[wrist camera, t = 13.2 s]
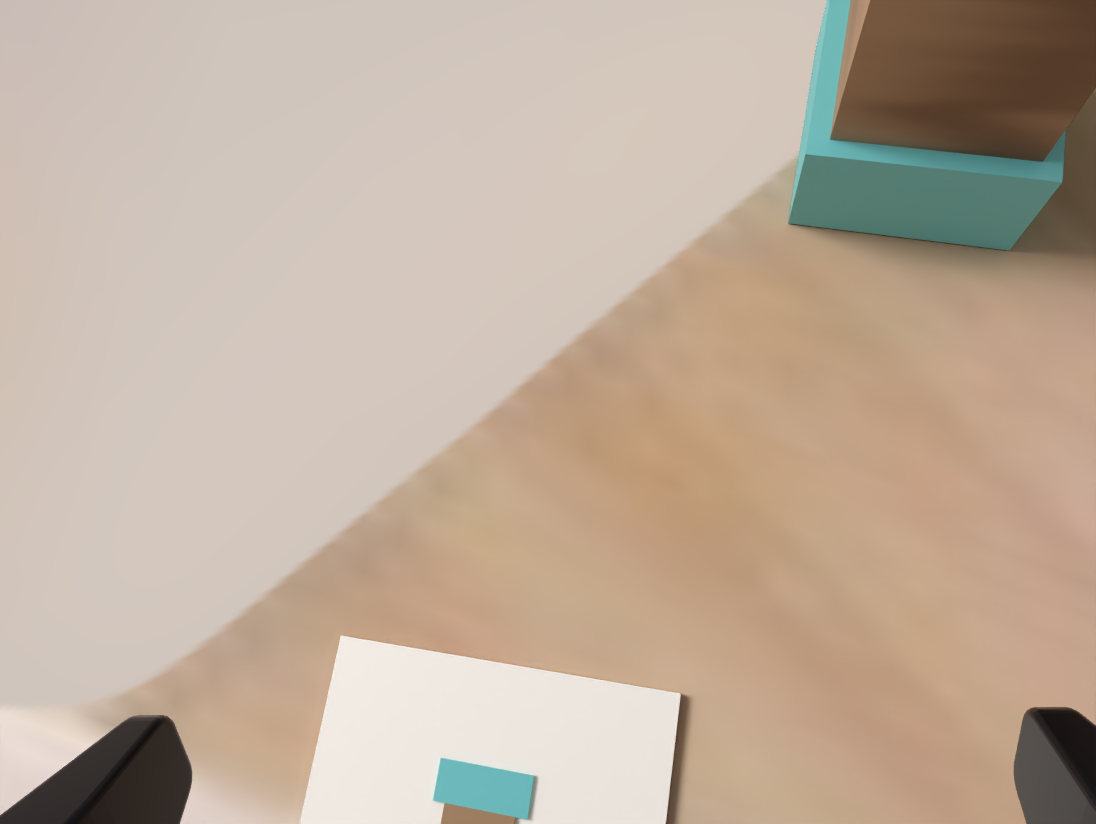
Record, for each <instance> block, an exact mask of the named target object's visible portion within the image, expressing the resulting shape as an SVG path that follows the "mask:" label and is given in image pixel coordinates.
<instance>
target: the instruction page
mask: <svg viewBox="0 0 1096 824" xmlns="http://www.w3.org/2000/svg"><path fill="white" fill-rule="evenodd" d="M680 696H681V693H675V692H669V691H663V690H657V689H651V688H645V687H640V686H634V685H628V684H622V683H616V682H610V681H604V680H598V679H593V678H587V677H581V676H575V675H569V674H563V673H557V672H552V671H546V670H540V669H534V668H528V667H522V666H516V665H510V664H505V663H499V662H493V661H487V660H481V659H475V658H469V657H464V656H458V655H452V654H446V653H440V652H434V651H428V650H423V649H417V648H411V647H405V646H399V645H393V644H387V643H381V642H376V641H370V640H364V639H358V638H352V637H346V636H341V638H340V643H339V647H338V652H337V656H336V661H335V665H334V670H333V674H332V679H331V683H330V688H329V692H328V697H327V701H326V706H325V711H324V715H323V720H322V724H321V729H320V733H319V738H318V742H317V747H316V751H315V756H314V760H313V765H312V769H311V774H310V778H309V783H308V787H307V792H306V797H305V801H304V806H303V810H302V815H301V819H300V824H666V817H667V808H668V800H669V791H670V782H671V774H672V765H673V756H674V748H675V739H676V730H677V722H678V713H679V705H680Z"/></svg>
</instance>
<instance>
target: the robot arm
mask: <svg viewBox="0 0 1096 824" xmlns="http://www.w3.org/2000/svg"><path fill="white" fill-rule="evenodd" d="M1014 781H1015V786H1016V790H1017V794H1018V797H1019V800H1020V804H1021V807H1022V810H1023V813H1024V817H1025V820H1026V823H1027V824H1096V725H1095V724H1093V723H1092V722H1091V721H1090V720H1088V719H1087V718H1086V717H1084V716H1083V715H1082V714H1081V713H1079V712H1078V711H1076V710H1074V709H1072V708H1068V707H1034V708H1030V709H1029V710H1027V711H1026V713H1025V714H1024V717H1023V721H1022V726H1021V731H1020V736H1019V741H1018V746H1017V751H1016V756H1015V761H1014ZM191 784H192V768H191V764H190V761H189V758H188V756H187V754H186V751H185V749H184V746H183V744H182V741H181V739H180V736H179V734H178V731H177V729H176V727H175V724H174V722H173V721H172V720H171V719H170V718H169V717H167V716H164V715H138V716H133V717H130V718H128V719H127V720H125V721H124V722H122V723H121V724H120V725H118V726H117V727H116V728H114V729H113V730H112V731H110V732H109V733H108V734H106V735H105V736H104V737H102V738H101V739H100V740H99V741H97V742H96V743H95V744H93V745H92V746H91V747H89V748H88V749H87V750H85V751H84V752H83V753H81V754H80V755H79V756H77V757H76V758H75V759H74V760H72V761H71V762H70V763H68V764H67V765H66V766H64V767H63V768H62V769H60V770H59V771H58V772H56V773H55V774H54V775H53V776H51V777H50V778H49V779H47V780H46V781H45V782H43V783H42V784H41V785H39V786H38V787H37V788H35V789H34V790H33V791H32V792H30V793H29V794H28V795H26V796H25V797H24V798H22V799H21V800H20V801H18V802H17V803H16V804H14V805H13V806H12V807H11V808H9V809H8V810H7V811H5V812H4V813H3V814H1V815H0V824H180V821H181V818H182V815H183V812H184V809H185V805H186V802H187V799H188V796H189V792H190V789H191Z"/></svg>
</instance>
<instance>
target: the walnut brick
mask: <svg viewBox="0 0 1096 824" xmlns="http://www.w3.org/2000/svg"><path fill="white" fill-rule="evenodd" d="M1095 87H1096V0H851V1H850V7H849V14H848V21H847V28H846V34H845V41H844V48H843V54H842V61H841V68H840V75H839V81H838V88H837V95H836V101H835V108H834V115H833V122H832V128H831V135H830V140H840V141H849V142H859V143H868V144H878V145H887V146H897V147H906V148H916V149H925V150H935V151H944V152H953V153H963V154H972V155H982V156H991V157H1001V158H1010V159H1020V160H1029V161H1039V162H1043V161H1044V160H1045V158H1046V157H1047V155H1048V154H1049V152H1050V151H1051V150H1052V148H1053V147H1054V145H1055V144H1056V143H1057V141H1058V140H1059V138H1060V137H1061V135H1062V134H1063V133H1064V131H1065V130H1066V128H1067V127H1068V126H1069V124H1070V123H1071V121H1072V120H1073V119H1074V117H1075V116H1076V114H1077V113H1078V111H1079V110H1080V109H1081V107H1082V106H1083V104H1084V103H1085V102H1086V100H1087V99H1088V97H1089V96H1090V94H1091V93H1092V92H1093V90H1094V89H1095Z"/></svg>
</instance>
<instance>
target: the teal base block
mask: <svg viewBox="0 0 1096 824" xmlns="http://www.w3.org/2000/svg"><path fill="white" fill-rule="evenodd" d="M850 1H851V0H827V2H826V6H825V11H824V16H823V20H822V24H821V28H820V33H819V37H818V42H817V46H816V51H815V57H814V64H813V70H812V76H811V82H810V89H809V95H808V101H807V108H806V114H805V120H804V127H803V132H802V139H801V146H800V151H799V158H798V164H797V170H796V177H795V183H794V189H793V196H792V202H791V208H790V215H789V221H788V223H790V224H798V225H806V226H814V227H822V228H831V229H839V230H847V231H855V232H863V233H871V234H879V235H887V236H895V237H903V238H911V239H920V240H928V241H936V242H944V243H952V244H960V245H968V246H976V247H984V248H992V249H1001V250H1010V249H1011V248H1012V247H1013V245H1014V244H1015V243H1016V241H1017V240H1018V239H1019V238H1020V236H1021V235H1022V234H1023V232H1024V231H1025V230H1026V229H1027V227H1028V226H1029V225H1030V223H1031V222H1032V221H1033V219H1034V218H1035V217H1036V216H1037V214H1038V213H1039V212H1040V210H1041V209H1042V208H1043V207H1044V205H1045V204H1046V203H1047V201H1048V200H1049V199H1050V198H1051V196H1052V195H1053V194H1054V192H1055V191H1056V190H1057V188H1058V187H1059V186H1060V185H1061V183H1062V182H1063V167H1064V152H1065V137H1066V130H1065V131H1064V133H1063V134H1062V135H1061V137H1060V138H1059V140H1058V141H1057V143H1056V144H1055V145H1054V147H1053V148H1052V150H1051V151H1050V152H1049V154H1048V155H1047V157H1046V158H1045V160H1044V161H1043V162H1039V161H1029V160H1020V159H1010V158H1001V157H991V156H982V155H972V154H963V153H953V152H944V151H935V150H925V149H916V148H906V147H897V146H887V145H878V144H868V143H859V142H849V141H840V140H830V135H831V128H832V122H833V115H834V108H835V101H836V95H837V88H838V81H839V75H840V68H841V61H842V54H843V48H844V41H845V34H846V28H847V21H848V14H849V7H850Z"/></svg>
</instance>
